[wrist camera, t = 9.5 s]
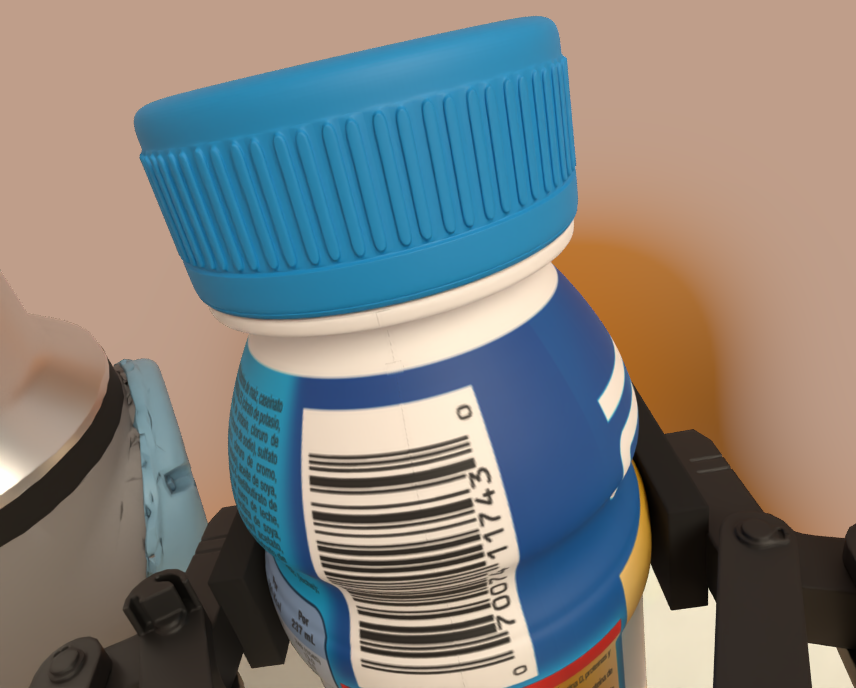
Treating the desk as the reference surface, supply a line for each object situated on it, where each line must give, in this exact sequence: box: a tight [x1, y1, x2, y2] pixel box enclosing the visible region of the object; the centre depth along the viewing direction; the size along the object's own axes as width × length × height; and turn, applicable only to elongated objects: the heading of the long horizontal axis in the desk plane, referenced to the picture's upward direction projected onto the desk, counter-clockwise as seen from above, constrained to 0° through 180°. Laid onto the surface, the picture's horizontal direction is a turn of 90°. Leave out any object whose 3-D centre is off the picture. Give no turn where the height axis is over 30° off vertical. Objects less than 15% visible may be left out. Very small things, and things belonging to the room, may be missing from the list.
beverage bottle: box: [134, 16, 652, 688], centre depth 14 cm, size 8×8×20 cm
